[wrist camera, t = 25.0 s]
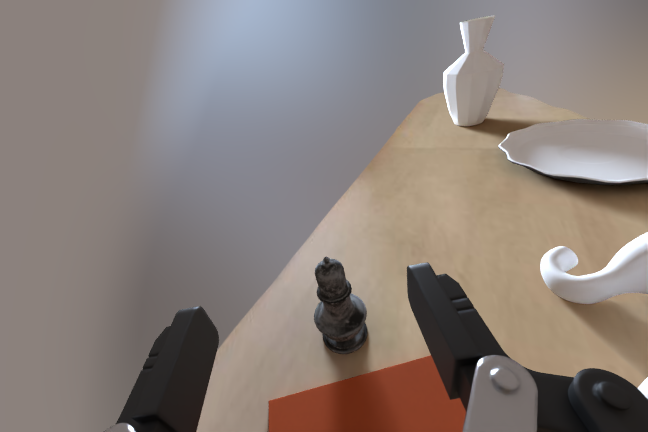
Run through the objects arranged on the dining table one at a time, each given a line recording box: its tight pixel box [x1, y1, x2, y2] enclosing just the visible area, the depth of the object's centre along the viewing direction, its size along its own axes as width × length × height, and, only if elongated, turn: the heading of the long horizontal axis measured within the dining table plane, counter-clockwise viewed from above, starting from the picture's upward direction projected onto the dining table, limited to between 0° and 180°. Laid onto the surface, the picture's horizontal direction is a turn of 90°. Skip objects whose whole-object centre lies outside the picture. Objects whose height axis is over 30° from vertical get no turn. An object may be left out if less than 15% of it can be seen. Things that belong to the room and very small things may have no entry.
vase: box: [443, 16, 504, 126], centre depth 75 cm, size 14×14×25 cm
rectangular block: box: [269, 356, 466, 432], centre depth 25 cm, size 18×7×1 cm, turn 100°
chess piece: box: [314, 257, 367, 354], centre depth 29 cm, size 6×6×12 cm
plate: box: [499, 119, 648, 185], centre depth 53 cm, size 29×29×2 cm
